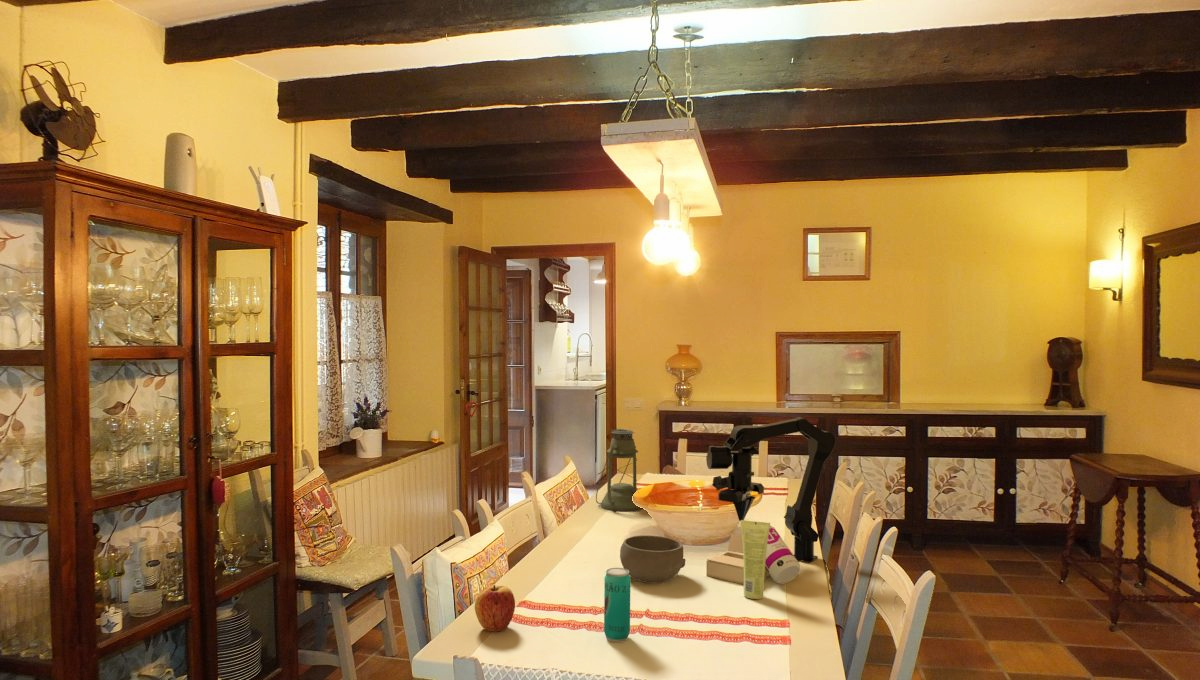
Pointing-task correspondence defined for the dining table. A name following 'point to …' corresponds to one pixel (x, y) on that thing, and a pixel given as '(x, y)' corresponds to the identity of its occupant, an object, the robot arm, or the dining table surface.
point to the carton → (728, 567)
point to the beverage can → (617, 604)
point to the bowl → (652, 558)
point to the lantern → (622, 492)
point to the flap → (736, 543)
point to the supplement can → (780, 559)
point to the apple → (495, 607)
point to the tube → (754, 557)
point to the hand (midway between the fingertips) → (741, 520)
